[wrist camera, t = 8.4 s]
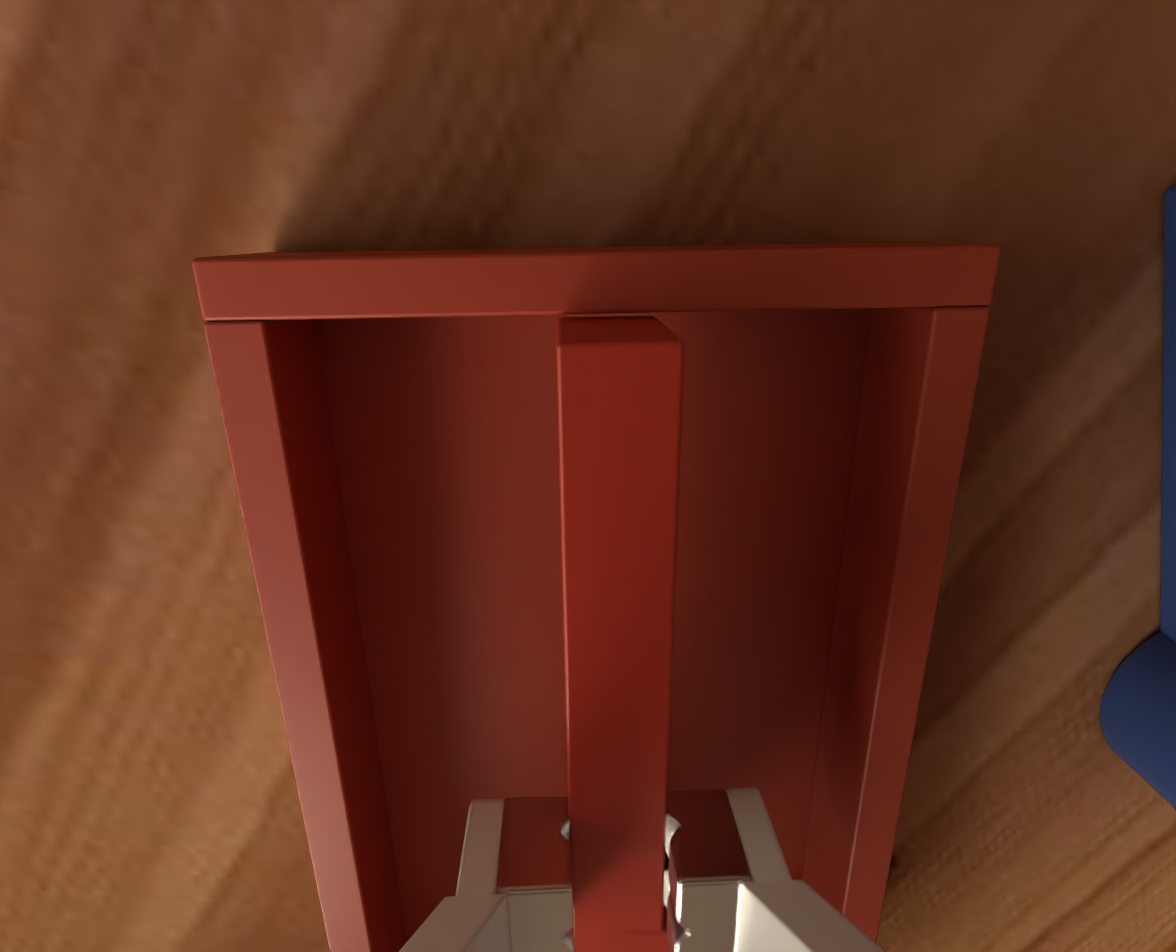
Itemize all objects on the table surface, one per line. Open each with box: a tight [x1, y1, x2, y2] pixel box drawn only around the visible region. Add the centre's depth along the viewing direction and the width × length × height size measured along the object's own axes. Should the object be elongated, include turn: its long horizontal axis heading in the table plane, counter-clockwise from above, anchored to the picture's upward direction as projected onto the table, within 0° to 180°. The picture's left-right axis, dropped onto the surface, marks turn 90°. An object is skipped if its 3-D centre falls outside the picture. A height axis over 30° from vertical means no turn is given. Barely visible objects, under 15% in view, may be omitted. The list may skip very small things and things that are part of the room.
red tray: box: [192, 242, 1001, 952], centre depth 13 cm, size 17×11×2 cm, turn 1°
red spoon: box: [556, 316, 685, 952], centre depth 11 cm, size 13×4×2 cm, turn 1°
